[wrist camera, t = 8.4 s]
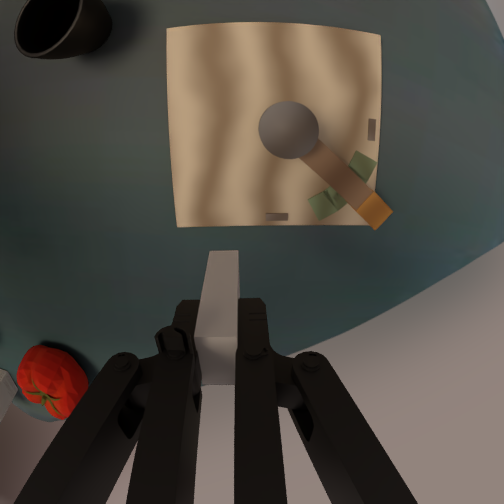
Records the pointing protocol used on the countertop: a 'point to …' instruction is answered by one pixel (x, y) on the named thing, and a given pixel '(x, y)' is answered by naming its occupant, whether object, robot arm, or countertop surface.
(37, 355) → the tomato
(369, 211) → the peg lever
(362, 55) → the dial board
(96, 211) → the countertop surface
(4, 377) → the supplement box
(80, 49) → the mug
